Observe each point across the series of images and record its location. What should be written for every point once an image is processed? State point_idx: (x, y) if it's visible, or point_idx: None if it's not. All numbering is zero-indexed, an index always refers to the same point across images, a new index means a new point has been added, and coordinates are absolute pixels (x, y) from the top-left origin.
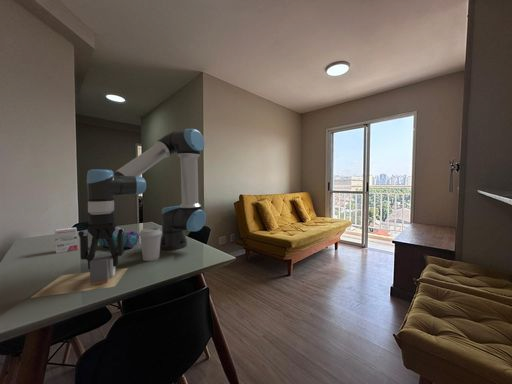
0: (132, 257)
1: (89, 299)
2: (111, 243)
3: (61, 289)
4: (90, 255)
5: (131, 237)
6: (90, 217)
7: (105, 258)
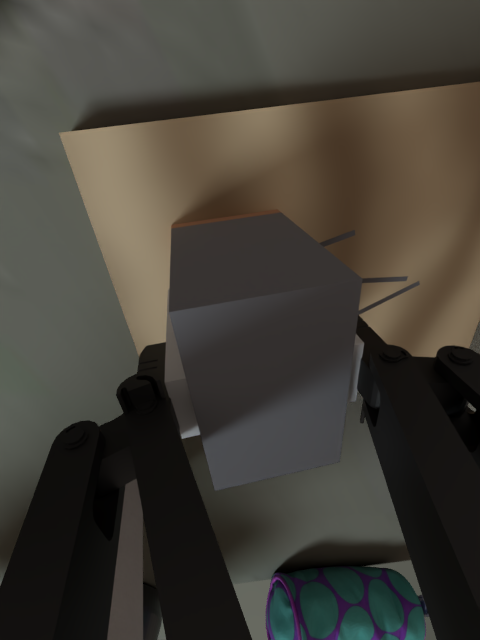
0: (229, 515)
1: (193, 12)
2: (166, 628)
3: (428, 167)
4: (402, 385)
5: (289, 634)
6: None
7: (221, 362)
